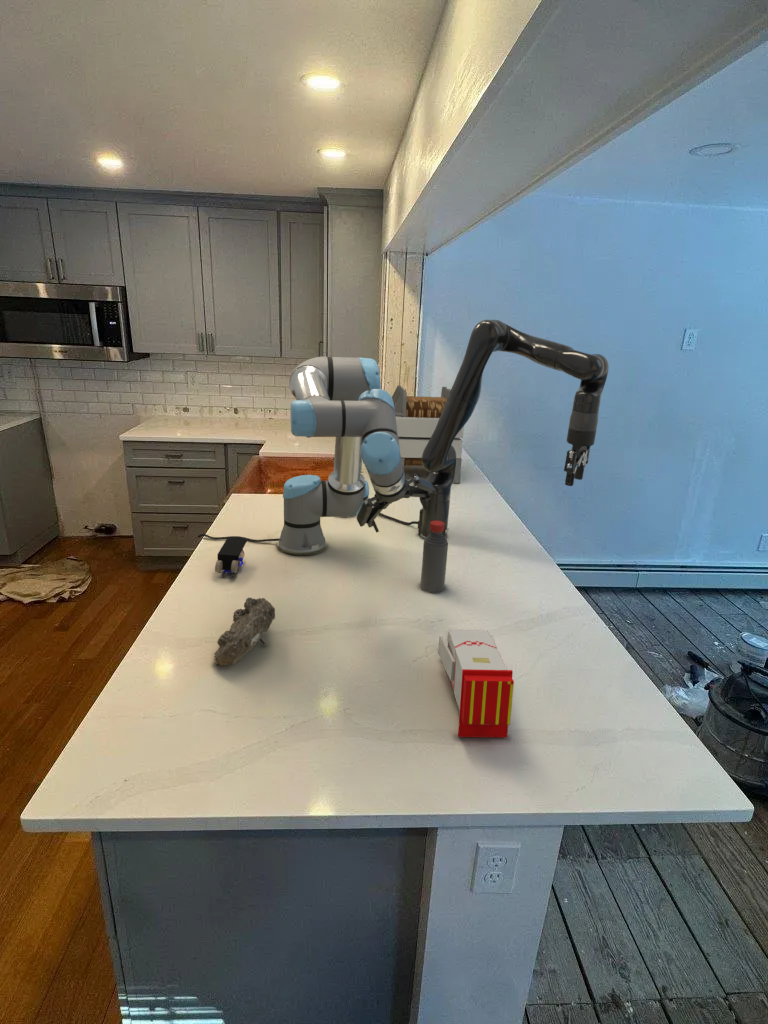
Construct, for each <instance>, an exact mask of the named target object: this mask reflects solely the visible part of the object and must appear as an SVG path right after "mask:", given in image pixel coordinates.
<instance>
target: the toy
mask: <svg viewBox="0 0 768 1024" xmlns="http://www.w3.org/2000/svg"><path fill="white" fill-rule="evenodd" d="M446 640H447V643H446V641H445V639H444V636H443V635H442V634H439V637H438V646H437V656H438V657H439V659H440V661H441V663H442V666H443V668H444V670H445V672H446V674H447V677H448V679H449V681H450V684H451V687H452V690H453V693H454V697H455V701H456V705H457V708H458V711H459V714H458V715H459V716H458V730H457V731H458V732H457V737H458V738H508V731H509V726H510V725H511V717H512V707H513V697H514V696H513V695H514V684H515V680H514V679H513V673H514V671H513V670H512V669H508V667H507V665H506V662H505V661H504V659H503V658H502V655H501V653H500V651H499V649H498V647H497V643H496V639H495V637H494V635H493V634H491V632H490V631H489V629H467V628H466V629H465V628H463V629H461V628H460V629H459V628H448V630H447V639H446Z"/></svg>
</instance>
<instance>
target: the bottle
mask: <svg viewBox="0 0 768 1024" xmlns="http://www.w3.org/2000/svg"><path fill="white" fill-rule="evenodd" d="M448 549H449V542H448V539H447V538H445V537H444V535H443V534H442V533H441V532H433V531H432V532H431V534H429V535H428V536H427V537H426V538H425V539H424V540H423V547H422V561H421V562H422V564H421V574H420V575H421V576H420V589H421V590H422V591H424V592H426V593H430V594H439V593H441V592H443V591H444V590H445V586H446V585H445V583H446V573H447V572H446V571H447V561H448Z"/></svg>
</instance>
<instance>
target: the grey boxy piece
mask: <svg viewBox="0 0 768 1024" xmlns="http://www.w3.org/2000/svg"><path fill="white" fill-rule="evenodd" d="M450 391H451V388H447V386H442V387H441V392H440V393H441V394H440V396H415V395H414V396H413V395H412V396H411V395H407V394H408V393H407V390H406V389H404V388H403V387H402V385H399V384H398V385H397V386H396V388H395V390H394V392H393V394H392V395H391V397H392V400H393V403H394V409H395V412H396V415H395V416H396V426H397V435H398V440H399V447H400V455H401V461H402V465H403V469H405V466H406V467H407V466H411V467H412V466H413V467H415V466H416V467H417V466H418V467H424V466H423V464H422V454H423V451H424V449H425V447H426V445H427V444H428V442H429V440H430V438H431V436H432V434H433V432H434V430H435V428H436V426H437V423H438V421H439V418H440V416H441V413H442V411H443V408H444V406H445V403H446V400H447V398H448V395H449V393H450ZM464 429H465V425H464V426H463V428H462V429H461V430H460V431H459V433H458V434H457V435H456V437H455V438H454V440H453V442H452V444H451V445H452V446H453V447H454V449H455V451H456V468H455V476H454V481H453V483H452V484H455V483H456V484H459V483H461V472H462V461H463V460H462V453H463V442H464V441H463V440H462V439H463V438H464V431H465V430H464Z"/></svg>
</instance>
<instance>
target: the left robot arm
mask: <svg viewBox="0 0 768 1024" xmlns="http://www.w3.org/2000/svg"><path fill="white" fill-rule="evenodd" d="M381 386H382V385H381V376H380V369H379V366H378V363H377V361H376V360H375V359H374V358H370V357H369V358H368V357H362V356H359V357H351V356H350V357H348V356H347V357H346V356H344V357H343V356H315V357H312V358H309V359H307V360H304V361H302V362H300V364H298V365H297V366H296V367H295V368H293V370H292V372H291V374H290V377H289V389H290V392H291V394H292V396H293V397H294V398H295V400H292V401H291V403H290V410H289V411H290V432H291V434H292V435H293V436H294V437H305V438H335V440H334V441H335V443H334V458H333V471H332V472H330V473H329V474H328V478H327V480H322V479H321V477H320V476H319V475H316V474H313V475H312V474H301V475H297V476H293V477H291V478H289V479H287V480H286V481H285V482H284V484H283V493H282V498H283V527H282V529H281V533H280V536H279V538H264V539H253V538H249V537H245V536H239V535H230V536H211V535H209V534H206V533H200V534H198V535H197V538H202V537H206V538H208V539H210V540H226V539H227V538H241V539H247V542H248V541H249V542H254V543H263V542H278V549H279V550H280V552H282V553H285V554H287V555H291V556H298V557H299V556H300V557H301V556H302V557H303V556H313V555H317V554H319V553H321V552H322V551H324V550H325V549H326V546H327V545H326V543H327V541H326V538H325V536H324V532H323V529H322V526H321V518H333V517H335V518H336V517H339V518H353V517H356V518H355V519H356V521H357V522H358V525H359V526H360V527H364V526H365V525H367V527H368V528H372V527H373V529H374V531H375V533H379V532H380V530H379V528H378V526H377V524H376V523H377V522H376V521H375V519H376V518H377V517H378V516H380V515H379V513H382V511H383V510H386V509H387V508H388V507H389V506H390V505H392V503H395V502H398V501H400V500H402V499H410V498H411V497H412V498H419V502H420V504H421V505H422V506H423V508H424V510H426V509H427V504H426V501H427V500H429V499H430V498H431V497H430V495H429V494H430V493H434V492H435V491H436V490H435V488H434V486H433V485H432V483H431V482H429V481H427V480H426V479H424V478H422V477H420V476H418V474H417V473H413V474H412V475H411V478H410V479H408V480H407V477H406V473H405V470H404V469H405V468H403V465H402V461H401V455H400V447H399V440H398V435H397V426H396V416H395V415H396V412H395V409H394V403H393V400H392V395H391V394H390V393H389V392H388V391H387V390H385V389H382V387H381ZM363 464H364V467H365V468H366V472H367V474H368V476H369V480H370V482H371V485H372V488H373V491H374V493H375V494H374V496H372V497H370V486H369V482H368V481H367V480H366V479H365V477H364V475H363V474H362V467H363ZM422 506H421V507H422Z"/></svg>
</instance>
